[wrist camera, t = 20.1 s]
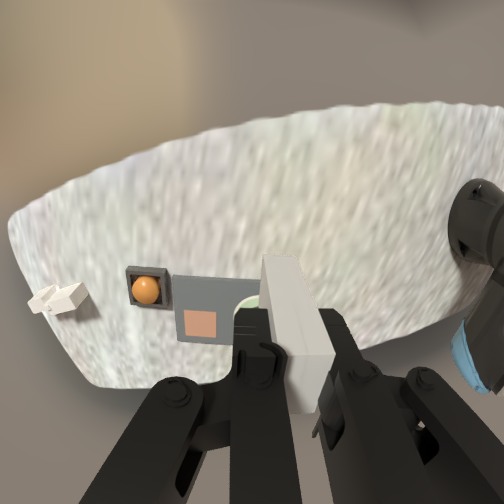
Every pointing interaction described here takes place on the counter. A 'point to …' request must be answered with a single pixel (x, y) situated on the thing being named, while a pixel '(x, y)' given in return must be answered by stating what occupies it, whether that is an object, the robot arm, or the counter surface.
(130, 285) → the button housing
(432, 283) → the counter surface
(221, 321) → the board
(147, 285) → the button
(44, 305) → the white block piece
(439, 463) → the robot arm
